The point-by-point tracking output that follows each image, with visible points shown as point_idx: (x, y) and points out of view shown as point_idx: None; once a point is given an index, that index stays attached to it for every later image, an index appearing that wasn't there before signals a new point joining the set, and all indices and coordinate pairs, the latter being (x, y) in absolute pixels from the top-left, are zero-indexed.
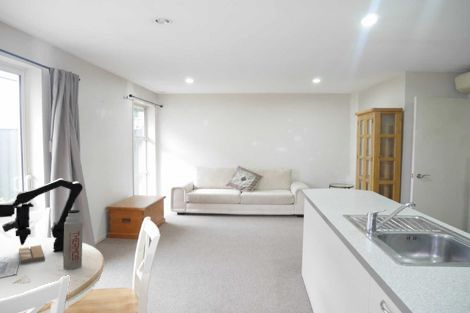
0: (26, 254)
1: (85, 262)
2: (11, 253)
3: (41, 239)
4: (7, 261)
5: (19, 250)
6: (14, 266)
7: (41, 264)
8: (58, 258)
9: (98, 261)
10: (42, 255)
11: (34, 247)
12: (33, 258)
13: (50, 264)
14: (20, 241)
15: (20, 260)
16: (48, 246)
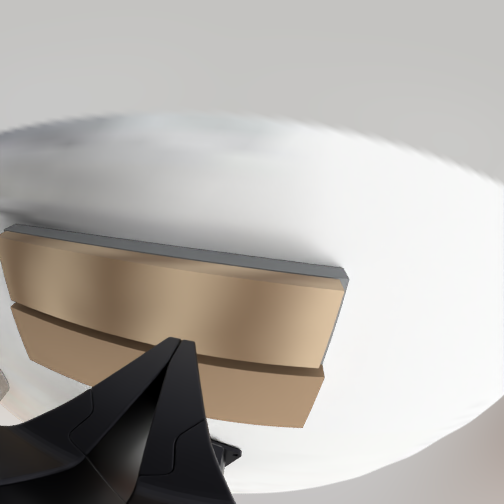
0: (74, 298)
1: (17, 404)
2: (357, 201)
3: (479, 401)
4: (107, 138)
5: (241, 278)
6: (5, 187)
7: (4, 310)
8: (59, 389)
9: (23, 421)
10: (40, 358)
11: (266, 394)
12: (12, 306)
13: (2, 335)
14: (122, 369)
15: (26, 233)
16: (319, 432)
